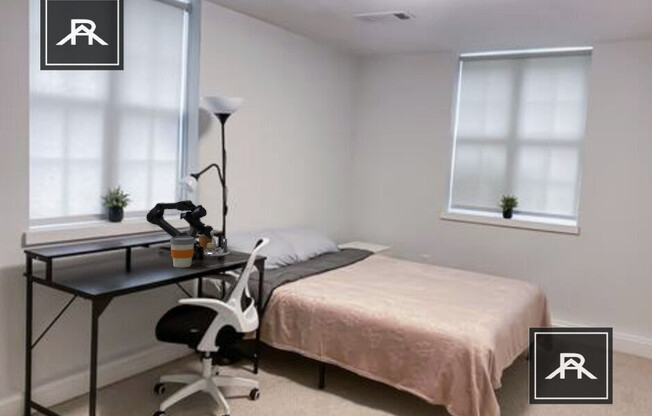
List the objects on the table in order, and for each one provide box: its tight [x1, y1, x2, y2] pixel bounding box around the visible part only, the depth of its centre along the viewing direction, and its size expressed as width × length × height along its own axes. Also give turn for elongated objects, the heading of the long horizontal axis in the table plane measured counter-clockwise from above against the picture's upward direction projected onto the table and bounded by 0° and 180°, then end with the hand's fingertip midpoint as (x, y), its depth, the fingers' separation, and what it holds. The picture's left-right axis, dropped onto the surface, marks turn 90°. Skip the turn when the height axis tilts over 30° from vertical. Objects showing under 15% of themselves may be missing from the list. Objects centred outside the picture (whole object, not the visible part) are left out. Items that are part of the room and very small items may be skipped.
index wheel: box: [203, 238, 231, 257], centre depth 311 cm, size 15×15×10 cm
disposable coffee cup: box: [197, 230, 215, 249], centre depth 326 cm, size 10×10×12 cm
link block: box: [207, 242, 216, 250], centre depth 311 cm, size 4×4×4 cm
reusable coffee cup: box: [169, 236, 195, 268], centre depth 281 cm, size 13×13×15 cm
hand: (211, 238), depth 302 cm, fingers closed
